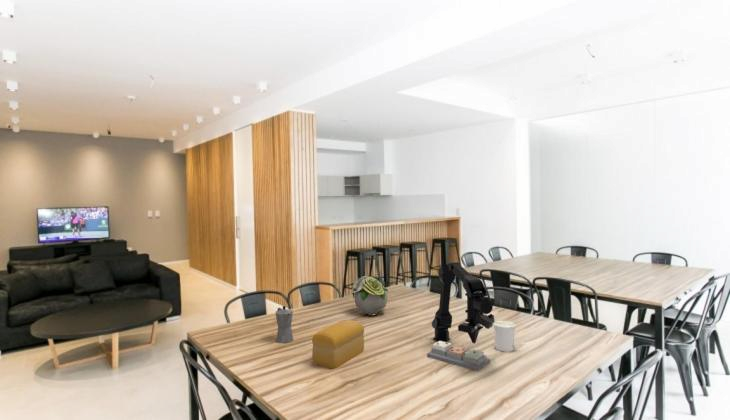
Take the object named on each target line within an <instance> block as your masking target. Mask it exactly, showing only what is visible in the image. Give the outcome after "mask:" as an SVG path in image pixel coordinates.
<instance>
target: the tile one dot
mask: <svg viewBox="0 0 730 420" xmlns="http://www.w3.org/2000/svg"><path fill="white" fill-rule="evenodd" d="M484 355H485V352H484V351H482V350H478V349H474V348H470V349H467V351H466V352H465V357H468V358H471V359H475V360H479V359H481V358H482V357H484Z"/></svg>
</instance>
